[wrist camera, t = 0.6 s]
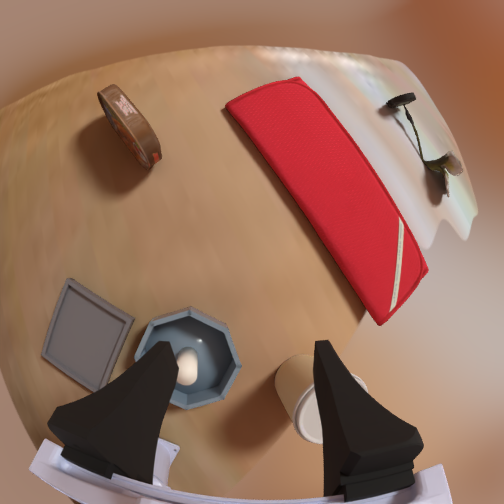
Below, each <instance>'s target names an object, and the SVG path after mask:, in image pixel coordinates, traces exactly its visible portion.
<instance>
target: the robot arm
mask: <svg viewBox="0 0 504 504" xmlns="http://www.w3.org/2000/svg"><path fill="white" fill-rule="evenodd" d="M178 372H179V367H178V364H177V361H176V358H175V356H174V353H173V350H172V347H171V344H170V341H158V342H157V343H156V344H155V345H154V346H153V347H152V348H151V349H149V350H148V351H147V352H146V353H145V354H144V355H143V356H142V357H141V358H140V359H139V360H138V361H137V362H136V363H134V364H133V365H132V366H131V367H130V368H129V369H127V370H126V371H125V372H124V373H123V374H121V375H120V376H119V377H118V378H116V379H115V380H113V381H112V382H111V383H109V384H108V385H106V386H105V387H103V388H101V389H99V390H98V391H96V392H94V393H92V394H90V395H88V396H86V397H84V398H82V399H79V400H77V401H75V402H72V403H69V404H66V405H63V406H59V407H57V408H56V410H55V411H54V413H53V414H52V416H51V418H50V419H49V421H48V423H47V424H48V427H49V429H50V430H51V431H52V432H53V433H54V434H55V435H56V436H57V437H58V438H59V439H60V440H61V441H62V442H63V443H64V444H65V446H64V448H62V447H60V446H59V445H57V444H55V443H53V442H51V441H49V440H47V439H44V441H43V443H42V445H41V446H40V448H39V450H38V452H37V454H36V456H35V458H34V459H33V462H32V463H31V465H30V467H29V470H30V471H31V472H32V473H33V474H35V475H36V476H38V477H39V478H40V479H42V480H43V481H45V482H46V483H48V484H49V485H50V486H52V487H53V488H55V489H56V490H58V491H60V492H62V493H63V494H65V495H67V496H69V497H70V498H72V499H74V500H76V501H78V502H80V503H82V504H453V502H452V498H451V494H450V490H449V487H448V483H447V479H446V476H445V472H444V469H443V466H442V464H438V465H435V466H432V467H430V468H427V469H424V470H421V471H419V472H417V473H415V474H413V471H412V469H413V468H414V464H413V460H414V459H415V458H416V456H418V455H419V453H420V452H421V451H422V449H423V447H424V444H423V441H422V439H421V436H420V434H419V432H418V430H417V428H416V427H414V426H412V425H410V424H408V423H406V422H405V421H403V420H401V419H400V418H398V417H397V416H395V415H394V414H392V413H391V412H390V411H388V410H387V409H385V408H384V407H383V406H382V405H380V404H379V403H378V402H377V401H376V400H375V399H374V398H372V397H371V396H370V395H369V394H368V393H367V392H366V391H365V390H364V389H363V388H362V387H361V385H360V384H359V383H358V382H357V381H356V380H355V378H354V377H353V376H352V375H351V373H350V372H349V371H348V370H347V368H346V367H345V365H344V364H343V363H342V361H341V360H340V358H339V357H338V355H337V353H336V352H335V350H334V348H333V347H332V345H331V343H330V341H328V340H322V341H315V350H314V362H313V379H314V389H315V394H316V400H317V405H318V410H319V415H320V420H321V427H322V438H323V457H324V497H320V498H309V499H293V500H249V499H233V498H222V497H213V496H206V495H199V494H193V493H187V492H182V491H177V490H172V489H171V488H170V487H168V486H167V484H168V475H169V467H170V465H171V463H172V462H173V460H174V458H175V456H176V455H177V453H178V451H179V449H180V447H179V446H178V445H175V444H173V443H170V442H168V441H165V440H163V439H161V438H159V433H160V429H161V425H162V421H163V418H164V415H165V413H166V410H167V407H168V405H169V402H170V399H171V397H172V394H173V391H174V388H175V385H176V381H177V377H178ZM174 449H175V450H176V451H175V450H174Z"/></svg>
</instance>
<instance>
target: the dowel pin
mask: <svg viewBox="0 0 504 504" xmlns="http://www.w3.org/2000/svg"><path fill="white" fill-rule="evenodd" d="M177 364H178V367H179V372H178V377H177V382H178V383H179V384H182V385H191V384H193V383H194V382H195V381H196V379H197V364H198V354H197V351H196V350H195V349H194V348H192V347H184V348H182V349H181V350H180V352H179V355H178V359H177Z"/></svg>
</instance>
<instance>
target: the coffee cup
mask: <svg viewBox="0 0 504 504" xmlns="http://www.w3.org/2000/svg"><path fill="white" fill-rule="evenodd" d="M313 362H314V357H313V356H310V355H297V356H294V357H292V358H290V359H288V360H286V361H285V362H284V363H283V364H282V365H281V366H280V368H279V369H278V371H277V373H276V376H275V388H276V391H277V393H278V395H279V397H280V399H281V401H282V403H283V405H284V407H285V409H286V411H287V413H288V415H289V417H290V419H291V421H292V422H293V425H294V428H295V430H296V432H297V433H298V434H299V435H300V436H301V437H302V438H303V439H305V440H307V441H309V442H312V443H317V444H323V438H322V427H321V420H320V415H319V410H318V405H317V400H316V394H315V389H314V379H313ZM351 375H352V376H353V377H354V378H355V380H356V381H357V382H358V383H359V384H360V385H361V387H362V388H363V389H364V390H365V391H366V392H367V393H368V390H367V387H366V385H365V383H364V382H363V381H362V380H361V379H360V378H359V377H357V376H356V375H354V374H351Z"/></svg>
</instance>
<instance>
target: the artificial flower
mask: <svg viewBox="0 0 504 504" xmlns="http://www.w3.org/2000/svg"><path fill="white" fill-rule="evenodd" d="M414 100H416V97H415V95H414V93H407V94H403V95H400V96H397V97H395V98H393V99H391V100H389V101H388V103H387V102H386V104H388V105H389V107H390V108H392V107H398V106H401V105H403V106H404V108H405V110H406V116H407V119H408V120H409V121H410V122H411V124H412V126H413V129H414V132H415V135H416V137H417V141H418V146H419V151H420V156H421V159H422V161H423V162H424V163H425V164H426V165H427V166H428V167H429V168H430V169H431V170H433V171H434V170H437V171H440V172H441V173H442V175H443V178H444V176H445V185H446V191H447V196H448V197H449V181H448V174H447V172H446V170H445V168H446V169H447V171H448V172H449V173H450V174H452V175H454V176H458V175H457V174H459V175H460V173H462V172H463V171H462V170H463V168H462V165H461V163H460V161H459V160H458V159H457V158H456V156H455V154H454V152H453V151H449V152H448V153H447V154H445V155H444V156H442V157H441V158H439V159H437V160H432V161H425V160H424V159H423V155H422V150H421V146H420V141H419V137H418V134H417V131H416V129H415V126H414V122H413V120H412V117H411V115H410V114H409V112H408V110H407V109H406V107H405V105H406V104H409V103H410V102H412V101H414ZM461 171H462V172H461Z"/></svg>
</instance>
